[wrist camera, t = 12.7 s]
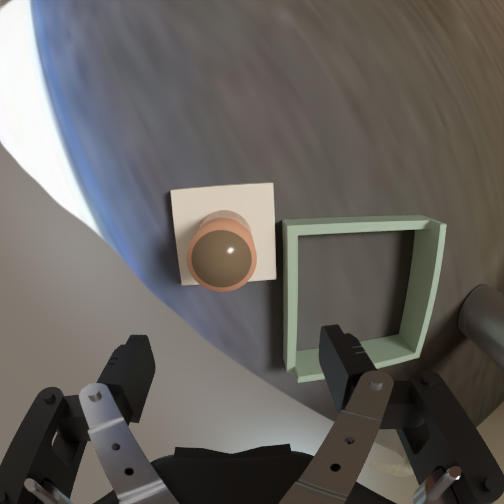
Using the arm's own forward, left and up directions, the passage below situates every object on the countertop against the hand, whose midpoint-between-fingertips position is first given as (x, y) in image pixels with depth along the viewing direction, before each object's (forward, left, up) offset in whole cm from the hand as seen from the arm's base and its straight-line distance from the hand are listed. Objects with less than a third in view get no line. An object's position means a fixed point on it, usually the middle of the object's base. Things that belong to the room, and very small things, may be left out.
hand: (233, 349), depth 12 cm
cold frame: (-14, +7, -19) cm, 24 cm away
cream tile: (+1, -1, -19) cm, 19 cm away
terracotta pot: (+1, -1, -17) cm, 17 cm away
